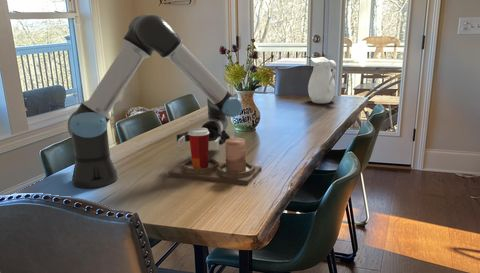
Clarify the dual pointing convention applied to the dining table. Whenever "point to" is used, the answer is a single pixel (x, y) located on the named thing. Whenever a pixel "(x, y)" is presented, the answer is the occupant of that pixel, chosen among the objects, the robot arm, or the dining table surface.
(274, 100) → the dining table surface
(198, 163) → the paper cup
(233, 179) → the wooden cup holder tray
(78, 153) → the robot arm
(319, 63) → the pitcher
